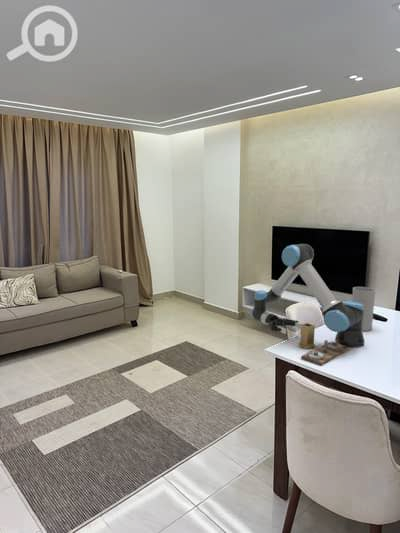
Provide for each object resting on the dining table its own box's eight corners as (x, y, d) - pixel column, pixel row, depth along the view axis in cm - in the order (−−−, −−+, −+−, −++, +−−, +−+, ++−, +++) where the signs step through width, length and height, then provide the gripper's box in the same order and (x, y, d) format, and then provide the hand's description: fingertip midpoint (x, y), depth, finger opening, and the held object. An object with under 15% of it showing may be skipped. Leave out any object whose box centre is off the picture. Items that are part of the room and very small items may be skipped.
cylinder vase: (352, 323, 240) (355, 285, 236) (373, 327, 233) (377, 288, 229) (347, 328, 230) (350, 289, 226) (369, 332, 223) (372, 292, 219)
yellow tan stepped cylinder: (306, 342, 207) (307, 321, 205) (318, 347, 200) (319, 326, 198) (295, 345, 203) (296, 324, 201) (306, 350, 196) (308, 328, 194)
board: (328, 344, 204) (329, 331, 203) (348, 350, 196) (349, 337, 195) (301, 358, 185) (301, 344, 184) (321, 365, 177) (322, 351, 176)
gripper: (284, 322, 233) (310, 332, 215) (253, 328, 221) (277, 340, 203) (285, 310, 232) (311, 319, 214) (253, 316, 220) (278, 326, 201)
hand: (295, 329), depth 208 cm, fingers open, 13 cm apart
